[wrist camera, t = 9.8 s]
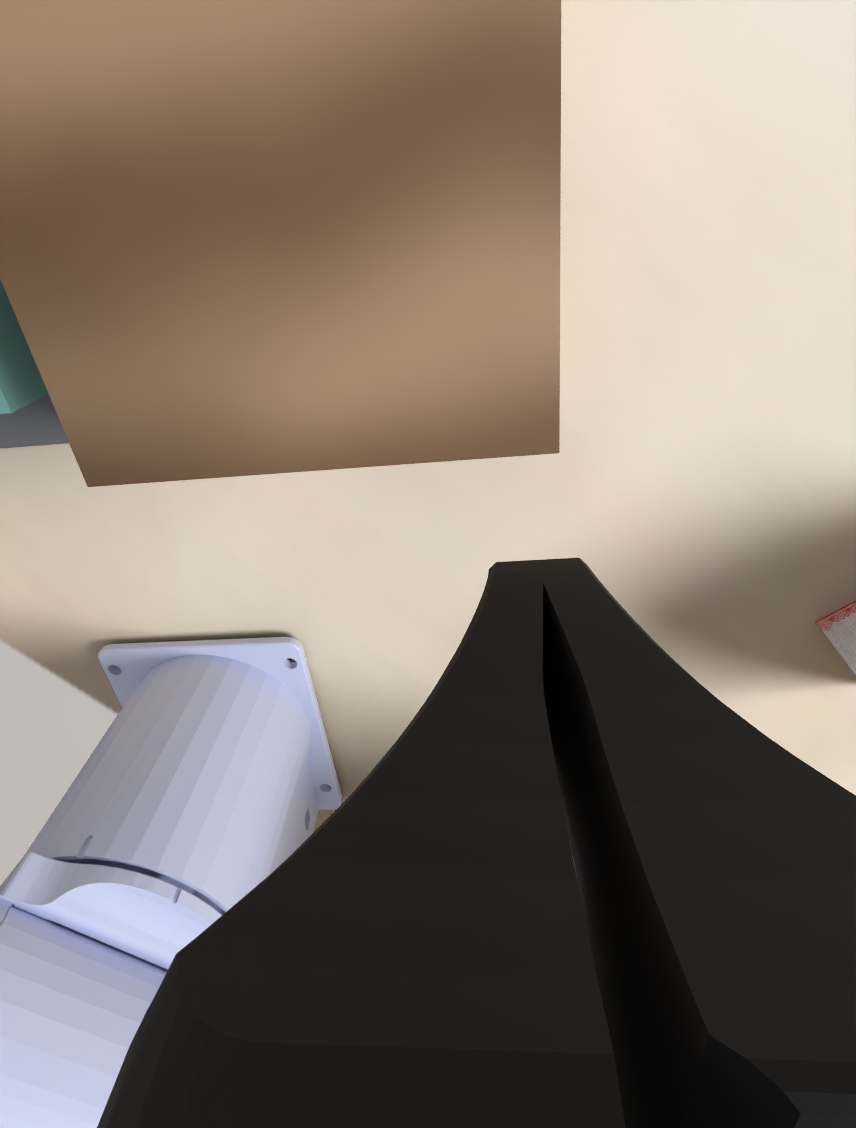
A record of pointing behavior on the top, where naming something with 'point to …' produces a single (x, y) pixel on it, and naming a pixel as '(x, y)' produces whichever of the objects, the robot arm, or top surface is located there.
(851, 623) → the tea bag
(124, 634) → the top surface
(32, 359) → the teal rectangular block
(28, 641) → the top surface
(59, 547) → the top surface
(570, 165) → the top surface
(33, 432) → the mat
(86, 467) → the block
